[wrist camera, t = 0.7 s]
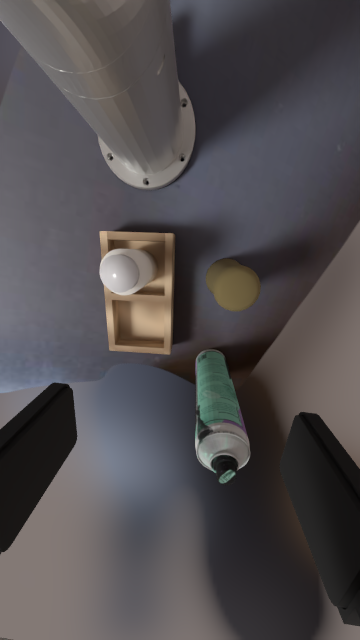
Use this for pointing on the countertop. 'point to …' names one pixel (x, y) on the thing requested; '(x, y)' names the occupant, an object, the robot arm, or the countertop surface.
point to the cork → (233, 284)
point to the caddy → (142, 297)
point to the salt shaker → (128, 270)
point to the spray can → (218, 419)
